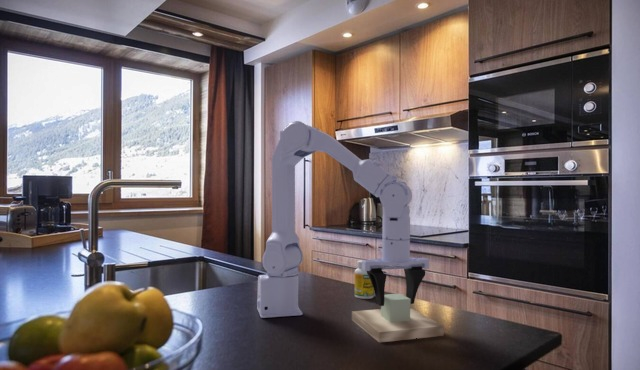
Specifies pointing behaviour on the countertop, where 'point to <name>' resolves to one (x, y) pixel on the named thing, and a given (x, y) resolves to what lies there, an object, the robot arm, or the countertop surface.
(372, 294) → the supplement bottle
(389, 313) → the sage cube
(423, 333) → the birch block
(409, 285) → the robot arm
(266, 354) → the countertop surface
